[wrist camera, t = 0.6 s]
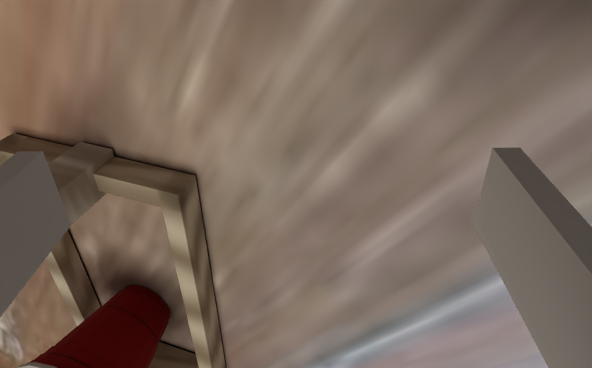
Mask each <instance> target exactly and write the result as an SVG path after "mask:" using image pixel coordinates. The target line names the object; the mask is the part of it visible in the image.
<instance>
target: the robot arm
mask: <svg viewBox="0 0 592 368" xmlns="http://www.w3.org/2000/svg"><path fill="white" fill-rule="evenodd" d="M473 225H474V227H475V229H476V231H477V233H478V235H479V236H480V238H481V240H482V242H483V244H484V246H485V248H486V250H487V252H488V253H489V255H490V257H491V259H492V261H493V263H494V265H495V267H496V269H497V271H498V272H499V274H500V276H501V278H502V280H503V282H504V284H505V286H506V288H507V290H508V291H509V293H510V295H511V297H512V299H513V301H514V303H515V305H516V307H517V308H518V310H519V312H520V314H521V316H522V318H523V320H524V322H525V324H526V326H527V327H528V329H529V331H530V333H531V335H532V337H533V339H534V341H535V343H536V344H537V346H538V348H539V350H540V352H541V354H542V356H543V358H544V360H545V362H546V363H547V365H548V367H549V368H592V227H591V226H590V225H589V224H588V223H587V221H586V220H585V219H584V218H583V217H582V216H581V215H580V214H579V213H578V211H577V210H576V209H575V208H574V207H573V206H572V205H571V204H570V203H569V201H568V200H567V199H566V198H565V197H564V196H563V195H562V194H561V193H560V192H559V190H558V189H557V188H556V187H555V186H554V185H553V184H552V183H551V182H550V180H549V179H548V178H547V177H546V176H545V175H544V174H543V173H542V172H541V170H540V169H539V168H538V167H537V166H536V165H535V164H534V163H533V162H532V161H531V159H530V158H529V157H528V156H527V155H526V154H525V153H524V152H523V151H522V149H521V148H492V152H491V156H490V160H489V164H488V168H487V172H486V176H485V180H484V184H483V188H482V192H481V196H480V200H479V204H478V208H477V212H476V216H475V220H474V223H473ZM70 226H71V223H70V220H69V218H68V215H67V213H66V210H65V207H64V205H63V202H62V200H61V197H60V194H59V192H58V189H57V187H56V184H55V181H54V179H53V176H52V174H51V171H50V169H49V166H48V163H47V161H46V158H45V156H44V153H43V151H20V152H16V153H15V154H14V155H13V156H11V157H10V158H9V159H8V160H7V161H5V162H4V163H3V164H2V165H0V317H1V316H2V314H3V313H4V312H5V311H6V309H7V308H8V307H9V305H10V304H11V303H12V301H13V300H14V299H15V298H16V296H17V295H18V294H19V292H20V291H21V290H22V288H23V287H24V286H25V285H26V283H27V282H28V281H29V279H30V278H31V277H32V275H33V274H34V273H35V272H36V270H37V269H38V268H39V266H40V265H41V264H42V262H43V261H44V260H45V259H46V257H47V256H48V255H49V253H50V252H51V251H52V250H53V248H54V247H55V246H56V244H57V243H58V242H59V240H60V239H61V238H62V237H63V235H64V234H65V233H66V231H67V230H68V229H69V227H70Z"/></svg>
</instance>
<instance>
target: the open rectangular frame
mask: <svg viewBox="0 0 592 368" xmlns="http://www.w3.org/2000/svg"><path fill="white" fill-rule="evenodd" d="M20 151H43V153H44V156H45V158H46V161H47V163H48V166H49V169H50V171H51V174H52V176H53V179H54V181H55V184H56V187H57V189H58V192H59V194H60V197H61V200H62V202H63V205H64V207H65V210H66V213H67V215H68V218H69V220H70V223H71V224H73V223H74V222H75V221H76V220H77V219H78V218H79V217H80V216H82V215H83V214H84V213H85V212H86V211H87V210H88V209H89V208H91V207H92V206H93V205H94V204H95V203H96V202H97V201H99V200H100V199H101V198H102V197H103V196H104V195H105V194H106V193H109V194H113V195H117V196H120V197H124V198H128V199H132V200H136V201H140V202H144V203H147V204H151V205H155V206H159V207H162V210H163V215H164V219H165V223H166V228H167V232H168V236H169V241H170V245H171V249H172V254H173V258H174V262H175V267H176V271H177V275H178V280H179V284H180V288H181V292H182V297H183V301H184V305H185V310H186V314H187V318H188V323H189V327H190V331H191V336H192V340H193V344H194V349H195V353H196V355H195V354H193V353H190V352H187V351H184V350H181V349H178V348H175V347H173V346H170V345H167V344H164V343H161V342H159V343H158V348H157V350H156V352H155V354H154V356H153V359H152V361H151V363H150V365H149V367H148V368H226V366H225V360H224V354H223V347H222V341H221V335H220V328H219V322H218V316H217V309H216V303H215V297H214V290H213V284H212V278H211V272H210V265H209V259H208V253H207V246H206V240H205V234H204V227H203V221H202V215H201V208H200V202H199V196H198V190H197V183H196V177H195V175H191V174H187V173H182V172H178V171H174V170H169V169H165V168H161V167H156V166H152V165H148V164H143V163H139V162H135V161H130V160H126V159H122V158H117V157H114V154H113V151H112V149H109V148H105V147H100V146H96V145H92V144H87V143H83V142H79V143H78V144H76V145H75V146H73V147H70V146H66V145H61V144H57V143H53V142H48V141H44V140H40V139H35V138H31V137H27V136H22V135H18V134H14V133H13V134H11V135H9V136H7V137H6V138H4V139H2V140H1V141H0V165H2V164H3V163H4V162H5V161H7V160H8V159H9V158H10V157H11V156H13V155H14V154H15V153H16V152H20ZM44 261H45V263H46V265H47V267H48V269H49V271H50V273H51V275H52V276H53V278H54V280H55V282H56V284H57V286H58V288H59V290H60V292H61V294H62V296H63V298H64V300H65V302H66V304H67V306H68V308H69V310H70V312H71V314H72V316H73V318H74V320H75V322H76V324H77V326H78V325H79V324H81V323H82V322H83V321H84V320H85V319H86V318H88V317H89V316H90V315H91V314H92V313H94V312H95V311H96V310H97V309H98V308H99V307H100V304H99V302H98V300H97V297H96V295H95V293H94V290H93V288H92V286H91V283H90V281H89V279H88V276H87V274H86V272H85V269H84V267H83V265H82V262H81V260H80V257H79V255H78V253H77V250H76V248H75V246H74V243H73V241H72V239H71V236H70V234H69V232H68V230H67V231H66V233H65V234H64V235H63V237H62V238H61V239H60V240H59V242H58V243H57V244H56V246H55V247H54V248H53V250H52V251H51V252H50V253H49V255H48V256H47V257H46V259H45V260H44Z"/></svg>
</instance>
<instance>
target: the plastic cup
mask: <svg viewBox="0 0 592 368" xmlns="http://www.w3.org/2000/svg"><path fill="white" fill-rule="evenodd" d="M169 318H170V310H169V308H168V306H167V304H166V303H165V302H164V301H163V300H162V299H161V298H160V297H159V296H158V295H156V294H155V293H154V292H152V291H151V290H149V289H146V288H144V287H142V286H137V285H130V286H126V287H125V288H124V289H123V290H120V291H119V292H118V293H117V294H116V295H115V296H113V297H112V298H111V299H110V300H109V301H108V302H107V303H106V304H104V305H103V306H102V307H99V308H98V309H97V310H96V311H95V312H94V313H92V314H91V315H90V316H89V317H88V318H86V319H85V320H84V321H83V322H82V323H81V324H79V325H78V326H77V327H76V328H75V329H74V330H72V331H71V332H70V333H69V334H68V335H66V336H65V337H64V338H63V339H62V340H61V341H59V342H58V343H57V344H56V345H55V346H52V347H51V348H50V349H48V350H47V351H46V352H45V353H44V354H41V355H40V356H38V357H37V358H36V359H35V360H32V361H31V362H29V363H27V364H22V365H20V366H19V367H17V368H148V367H149V365H150V363H151V361H152V359H153V356H154V354H155V352H156V350H157V348H158V343H159V341H160V339H161V337H162V335H163V333H164V331H165V328H166V326H167V324H168V320H169Z"/></svg>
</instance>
